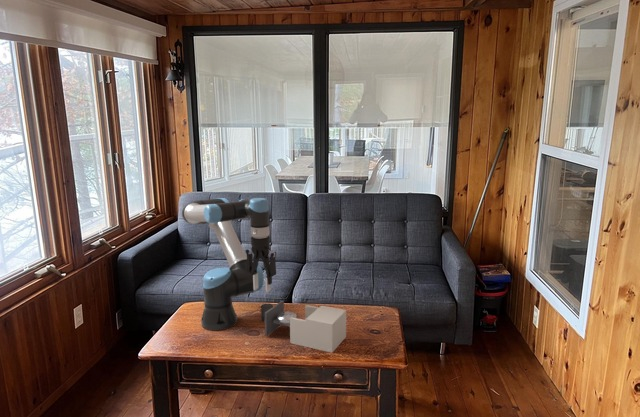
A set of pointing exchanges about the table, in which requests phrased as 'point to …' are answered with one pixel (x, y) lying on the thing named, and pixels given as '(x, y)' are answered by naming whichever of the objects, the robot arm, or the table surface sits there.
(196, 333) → the table surface
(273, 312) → the grey plate and rod
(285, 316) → the disc
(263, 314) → the stand
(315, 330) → the housing
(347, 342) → the table surface
